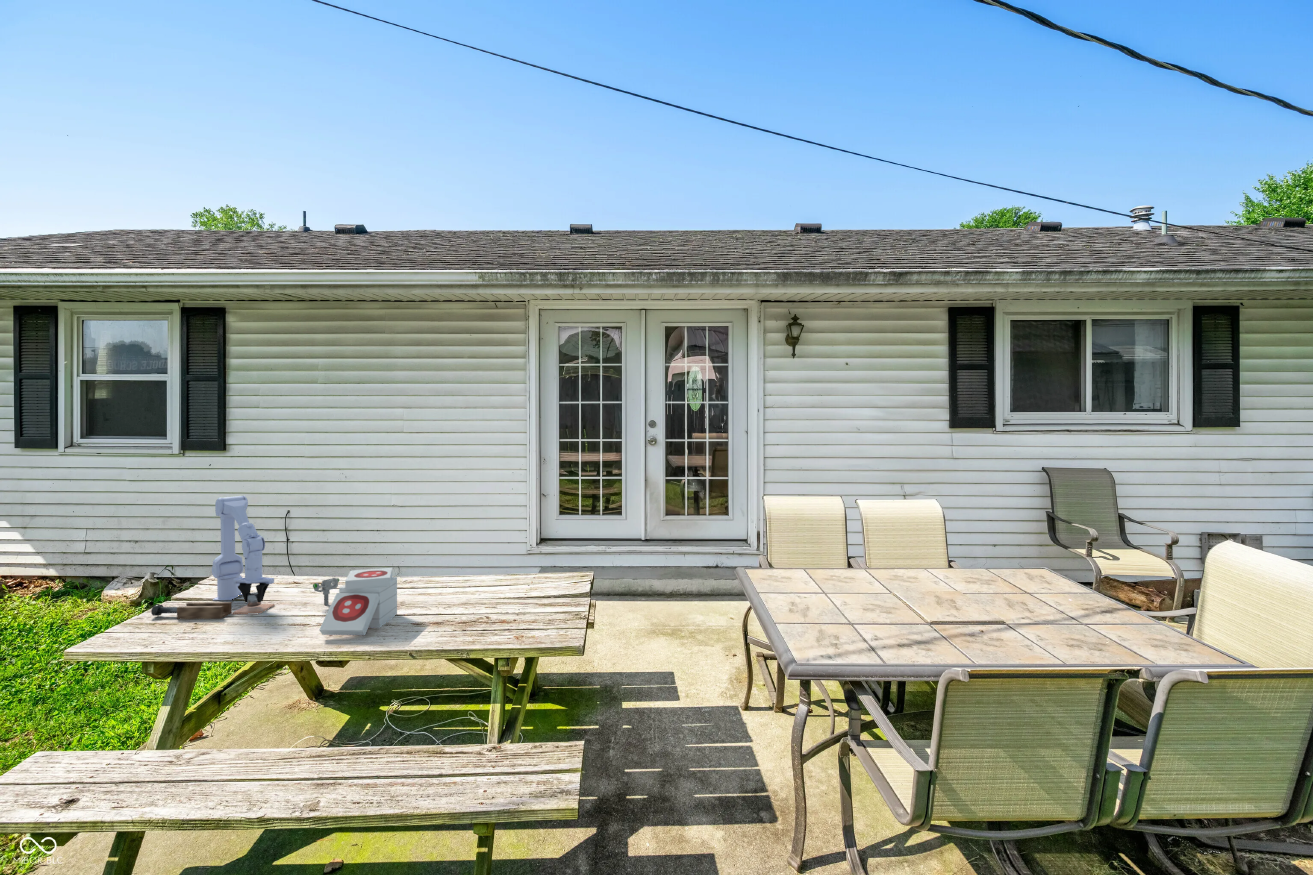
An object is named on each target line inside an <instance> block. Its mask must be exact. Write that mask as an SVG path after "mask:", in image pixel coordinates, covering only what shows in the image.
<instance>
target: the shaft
mask: <svg viewBox="0 0 1313 875" xmlns="http://www.w3.org/2000/svg"><path fill="white" fill-rule="evenodd" d="M177 607H178V606H164V605H163V604H155V605H153V606H152V608H151V609H150V613H151V615H152V616H153V617H154V616H155V617H156V616H157V617H158V616H161V615H162V614H177Z"/></svg>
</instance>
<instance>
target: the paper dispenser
mask: <svg viewBox="0 0 1313 875" xmlns="http://www.w3.org/2000/svg"><path fill="white" fill-rule="evenodd" d="M344 583H345V584H344V585H342V586H340V587H339V589H338V592H336V594H335V596H334V599H333V600H332V603H331V604H330V606H329V608H328V611H327V613H326V614H325V617H324V619H323V621H322V623H321V626H320V627H319V630H318V631H319V632H320V633H321V635H323V636H326V635H327V636H328V635H329V636H335V635H336V636H366V634H367V631H368V629H380V628H382V625H383V626H384V625H386V624H387V623H388V622H389V621H391V620H392V619H393V618H394V617H395V615H396V614H397V615H398V576H395V577H394V576H393V567H384V568H383V567H382V568H372V569H371V568H368V569H367V568H366V569H356V570H355V569H354V570H350V571H349V572H348V575H347V577H346V579H345V580H344ZM397 615H396V616H397ZM386 622H387V623H386Z"/></svg>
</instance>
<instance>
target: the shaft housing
mask: <svg viewBox="0 0 1313 875" xmlns="http://www.w3.org/2000/svg"><path fill="white" fill-rule="evenodd" d="M232 603H233V602H231V601H221V602H220V601H218V602H217V601H215V602H212V601H205V602H204V601H203V602H201V601H200V602H199V601H197V602H195V601H194V602H193V601H191V602H186V603H185V604H186V605H184V606H183V605H182V606H180V605H179V606H176V607H177V613H176V617H177V618H176V620H210V619H211V620H219V619H220V620H222V619H223V618H225V617H228V616H229V615H231V613H232V614H233V611H232V610H233V609H232V607H233V606H232Z"/></svg>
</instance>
